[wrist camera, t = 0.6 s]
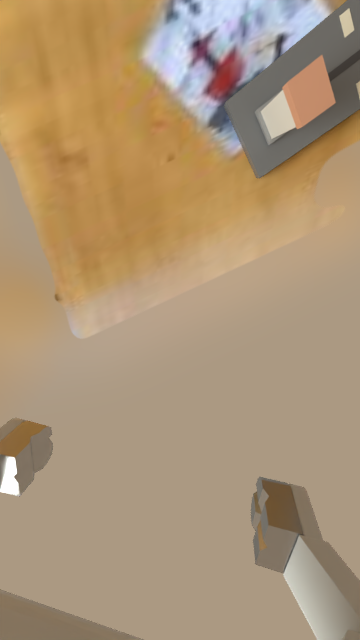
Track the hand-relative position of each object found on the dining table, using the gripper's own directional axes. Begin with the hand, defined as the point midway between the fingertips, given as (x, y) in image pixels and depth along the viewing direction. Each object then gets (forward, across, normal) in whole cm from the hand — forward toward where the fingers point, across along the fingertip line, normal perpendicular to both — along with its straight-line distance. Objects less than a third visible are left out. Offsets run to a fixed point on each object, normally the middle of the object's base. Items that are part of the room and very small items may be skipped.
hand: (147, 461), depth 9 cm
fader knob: (+40, -6, -27) cm, 48 cm away
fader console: (+43, -10, -32) cm, 54 cm away
